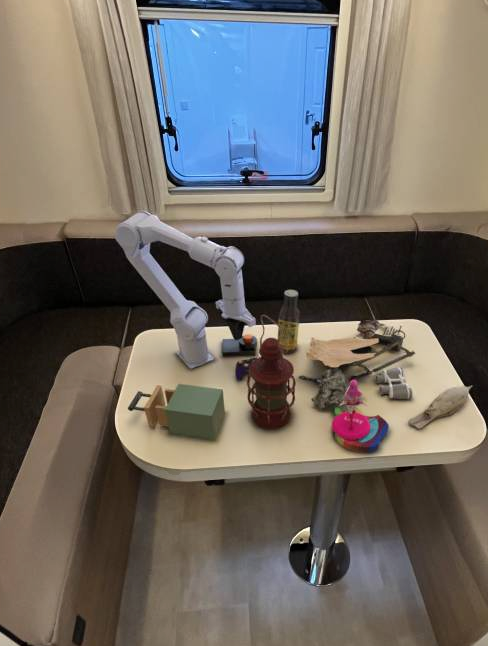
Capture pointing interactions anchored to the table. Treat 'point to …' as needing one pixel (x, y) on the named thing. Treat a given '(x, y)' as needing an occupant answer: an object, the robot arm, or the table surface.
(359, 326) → the oyster
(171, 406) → the cabinet
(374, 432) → the decorative object
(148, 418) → the drawer
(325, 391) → the rock
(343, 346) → the tan craggy stone
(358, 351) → the phone
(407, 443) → the table surface
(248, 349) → the button box
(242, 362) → the gaming controller
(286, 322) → the sauce bottle
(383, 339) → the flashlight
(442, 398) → the sculpture
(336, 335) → the table surface
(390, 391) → the binoculars
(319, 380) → the knife
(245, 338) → the button
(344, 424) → the figurine
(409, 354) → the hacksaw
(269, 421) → the lantern
